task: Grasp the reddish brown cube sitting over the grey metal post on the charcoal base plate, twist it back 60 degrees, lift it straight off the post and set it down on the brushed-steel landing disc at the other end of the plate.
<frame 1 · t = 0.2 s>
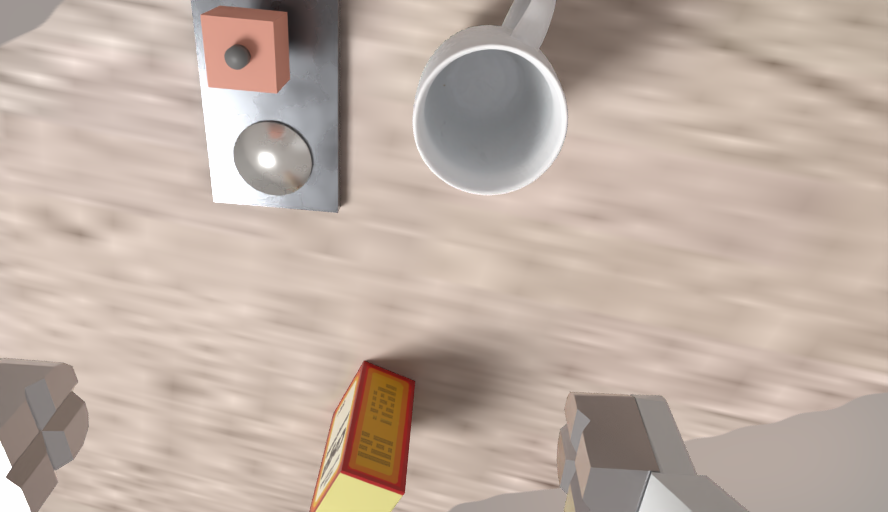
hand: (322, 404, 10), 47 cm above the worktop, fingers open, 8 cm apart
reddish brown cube: (255, 43, 49), point 4 cm above the worktop, touching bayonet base
baking soda box: (373, 396, 74), on the worktop
mug: (489, 65, 54), on the worktop
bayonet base: (273, 91, 55), on the worktop
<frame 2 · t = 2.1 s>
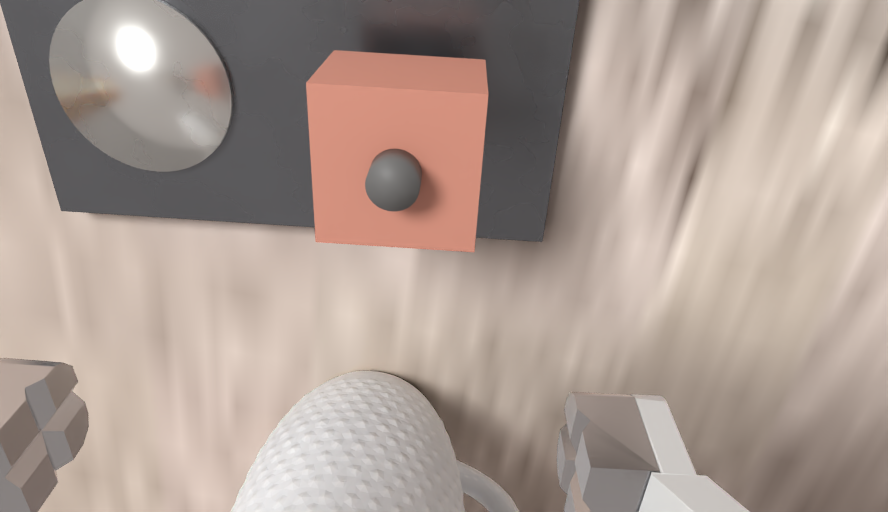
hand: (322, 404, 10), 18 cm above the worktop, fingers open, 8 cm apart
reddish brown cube: (407, 128, 23), point 4 cm above the worktop, touching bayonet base
mug: (390, 416, 36), on the worktop
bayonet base: (298, 87, 26), on the worktop
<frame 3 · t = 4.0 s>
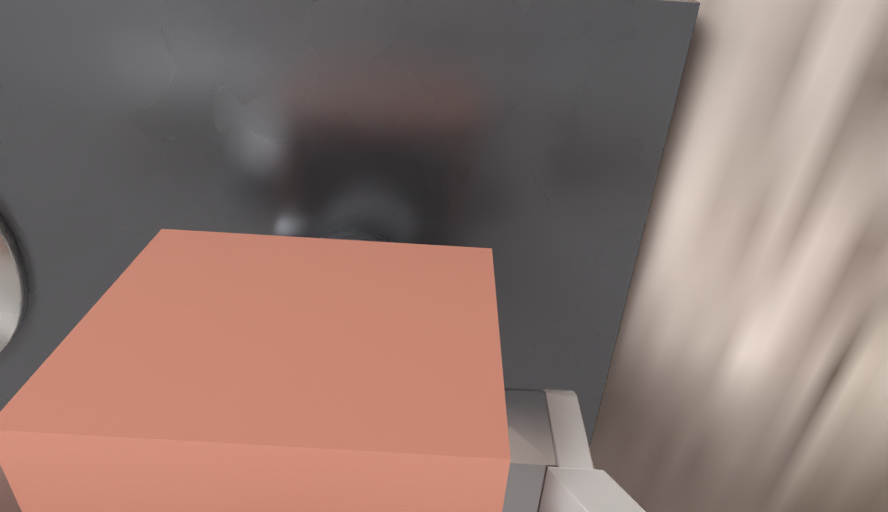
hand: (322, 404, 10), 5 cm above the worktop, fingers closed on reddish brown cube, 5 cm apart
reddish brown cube: (333, 365, 11), point 4 cm above the worktop, touching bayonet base, gripper
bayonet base: (153, 236, 15), on the worktop
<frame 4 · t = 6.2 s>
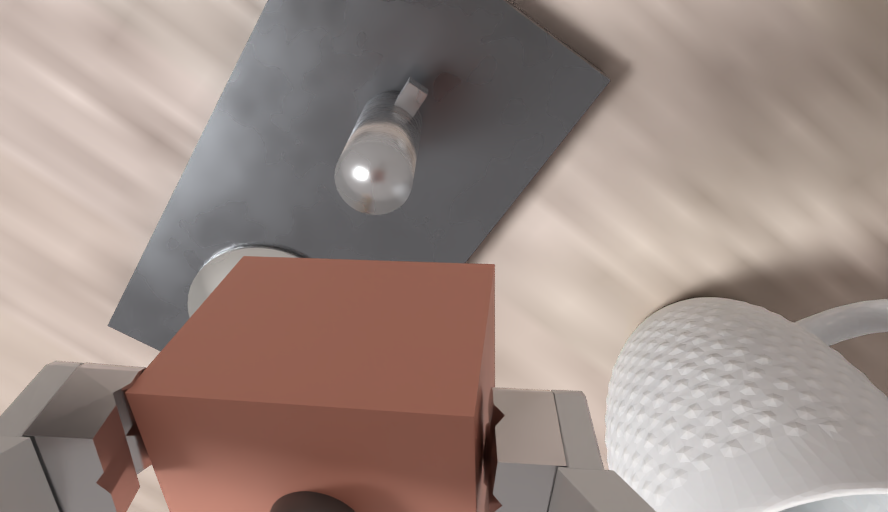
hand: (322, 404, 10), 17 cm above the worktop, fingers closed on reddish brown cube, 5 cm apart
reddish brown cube: (377, 362, 14), point 14 cm above the worktop, tilted 7°, touching gripper
mug: (709, 339, 31), on the worktop
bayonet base: (335, 205, 27), on the worktop
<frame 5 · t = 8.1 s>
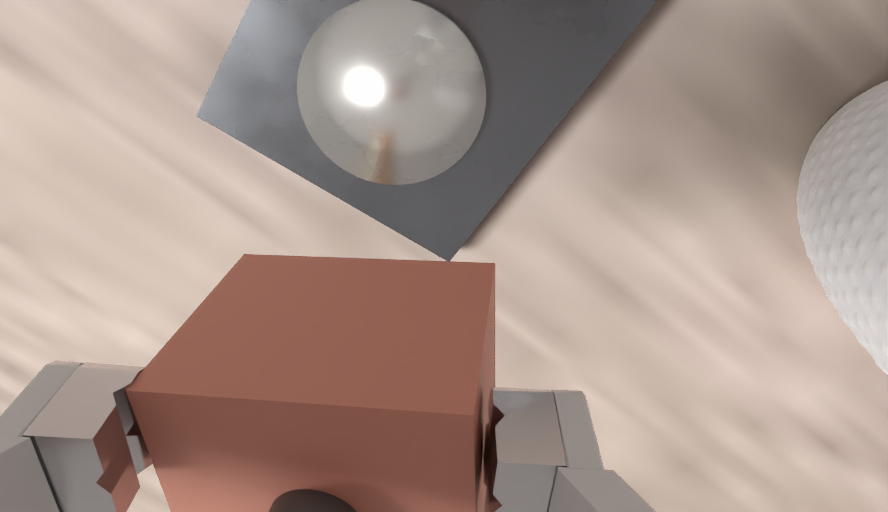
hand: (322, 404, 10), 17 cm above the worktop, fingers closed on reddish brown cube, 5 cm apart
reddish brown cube: (377, 360, 14), point 14 cm above the worktop, tilted 7°, touching gripper
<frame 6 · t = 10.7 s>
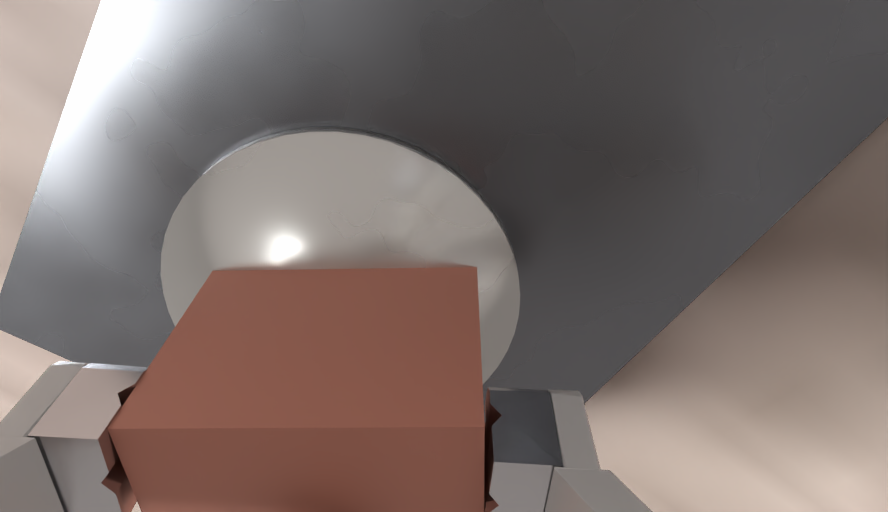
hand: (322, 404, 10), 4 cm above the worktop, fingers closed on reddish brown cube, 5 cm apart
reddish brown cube: (357, 371, 13), point 2 cm above the worktop, touching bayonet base, gripper
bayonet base: (513, 30, 11), on the worktop
when the fingers open (4 cm above the worktop, at t = 10.7 s): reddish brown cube stays where it is, resting on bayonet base.
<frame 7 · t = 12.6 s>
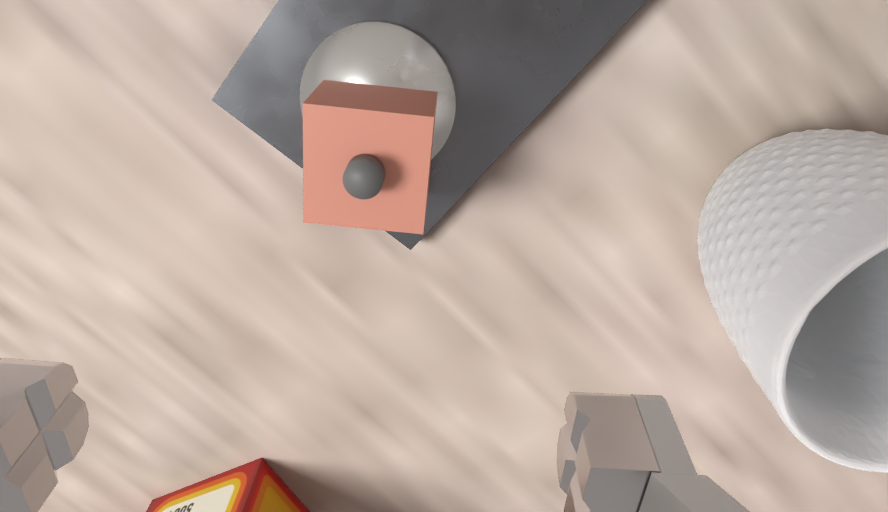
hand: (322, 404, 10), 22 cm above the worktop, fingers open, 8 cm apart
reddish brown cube: (377, 140, 29), point 1 cm above the worktop, touching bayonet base
baking soda box: (234, 506, 44), on the worktop
mug: (791, 190, 32), on the worktop
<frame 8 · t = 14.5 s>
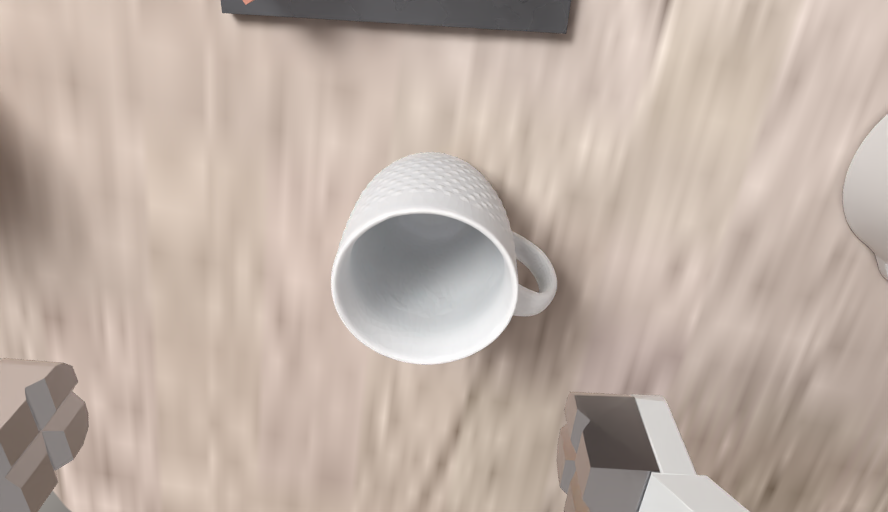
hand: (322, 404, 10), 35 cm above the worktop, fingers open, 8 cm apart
mug: (446, 201, 47), on the worktop
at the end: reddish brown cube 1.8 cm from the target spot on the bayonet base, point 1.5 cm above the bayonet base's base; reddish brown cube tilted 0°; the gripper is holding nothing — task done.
